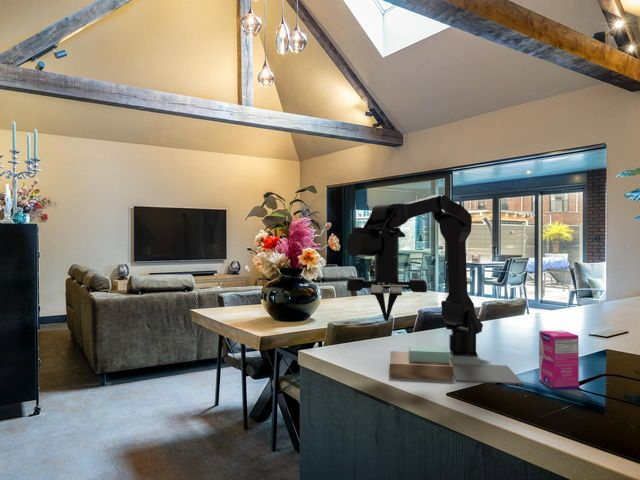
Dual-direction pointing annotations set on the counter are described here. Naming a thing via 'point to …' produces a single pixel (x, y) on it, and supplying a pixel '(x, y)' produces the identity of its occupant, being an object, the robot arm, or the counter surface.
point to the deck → (418, 368)
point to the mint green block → (428, 353)
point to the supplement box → (559, 359)
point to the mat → (484, 374)
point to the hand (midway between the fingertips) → (386, 320)
